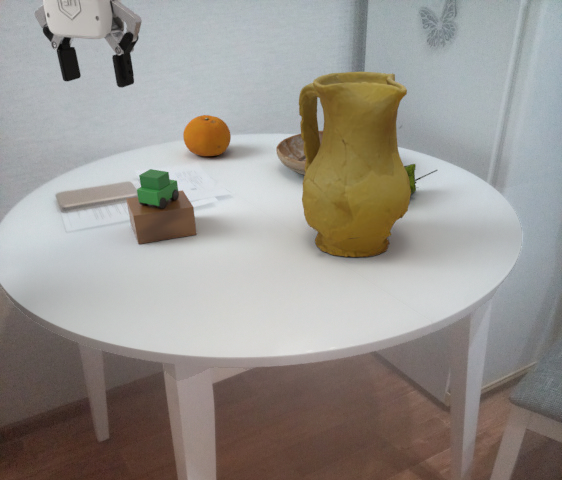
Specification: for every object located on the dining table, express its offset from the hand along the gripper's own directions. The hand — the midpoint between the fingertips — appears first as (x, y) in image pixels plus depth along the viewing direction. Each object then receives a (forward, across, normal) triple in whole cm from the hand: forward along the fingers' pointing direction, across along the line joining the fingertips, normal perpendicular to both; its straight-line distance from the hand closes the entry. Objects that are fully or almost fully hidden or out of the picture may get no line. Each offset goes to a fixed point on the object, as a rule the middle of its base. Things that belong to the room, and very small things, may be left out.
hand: (98, 82), depth 81 cm
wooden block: (+24, +4, +4) cm, 25 cm away
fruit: (+24, -9, +43) cm, 50 cm away
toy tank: (+24, +40, +36) cm, 59 cm away
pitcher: (+24, +35, +14) cm, 45 cm away
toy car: (+19, +4, +4) cm, 20 cm away
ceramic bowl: (+24, +21, +45) cm, 55 cm away
